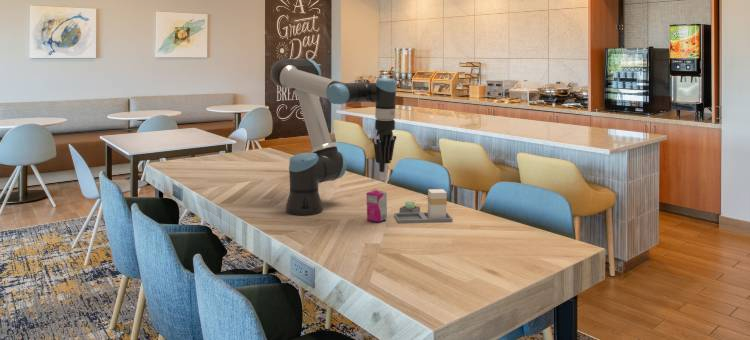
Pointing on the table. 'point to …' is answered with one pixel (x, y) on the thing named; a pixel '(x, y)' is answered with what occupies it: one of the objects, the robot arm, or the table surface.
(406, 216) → the grey divided tray
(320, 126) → the robot arm
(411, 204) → the button
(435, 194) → the box
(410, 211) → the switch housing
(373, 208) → the supplement box
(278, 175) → the table surface
